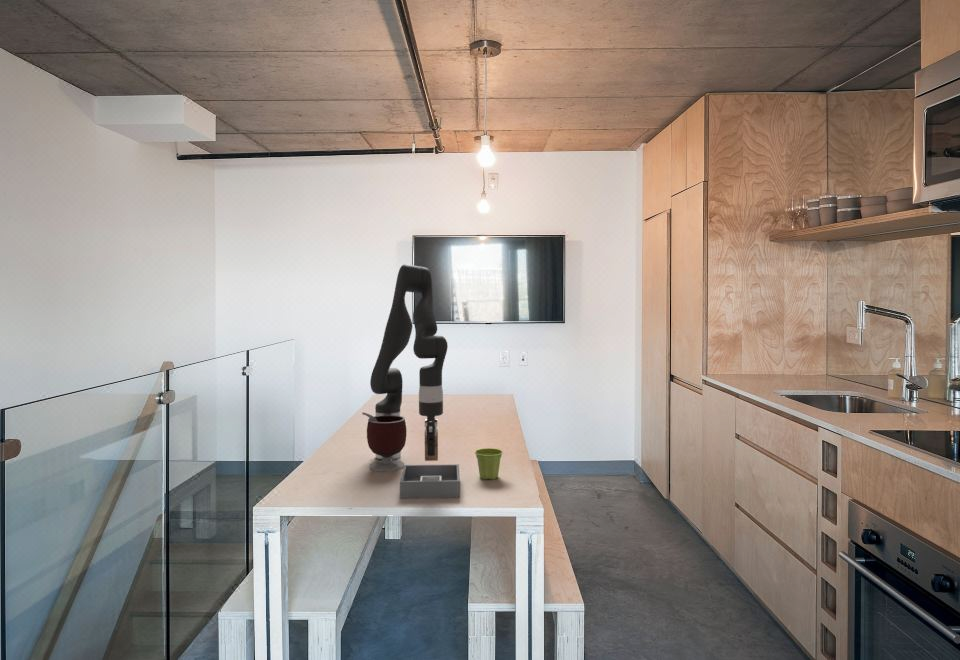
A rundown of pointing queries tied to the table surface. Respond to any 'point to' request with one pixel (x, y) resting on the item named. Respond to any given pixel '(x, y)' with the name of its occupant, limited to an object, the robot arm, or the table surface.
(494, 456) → the plant pot
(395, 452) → the mate gourd
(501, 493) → the table surface
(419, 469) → the grey square tray
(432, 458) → the brown block
